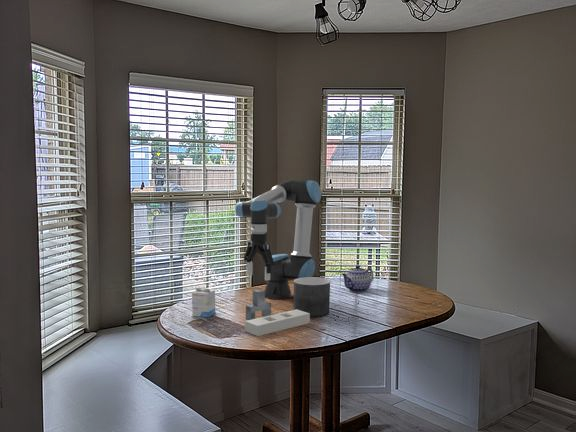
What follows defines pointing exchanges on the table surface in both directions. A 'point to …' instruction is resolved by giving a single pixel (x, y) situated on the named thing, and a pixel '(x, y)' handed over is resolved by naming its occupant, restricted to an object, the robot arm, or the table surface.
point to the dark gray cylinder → (312, 296)
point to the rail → (277, 322)
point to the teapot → (358, 279)
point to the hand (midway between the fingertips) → (258, 277)
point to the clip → (258, 305)
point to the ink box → (203, 302)
